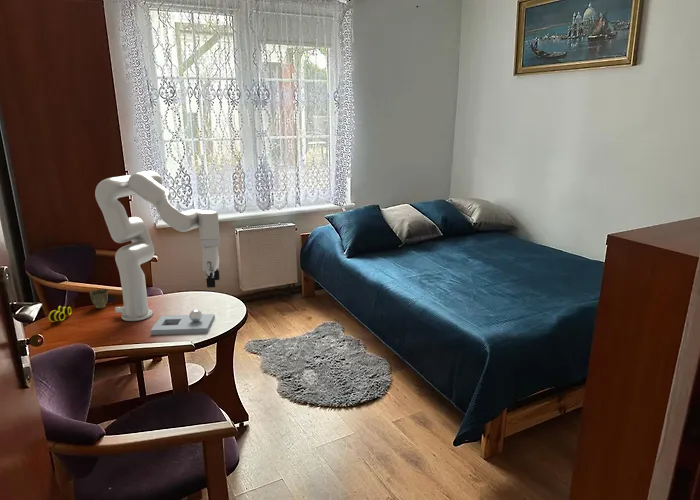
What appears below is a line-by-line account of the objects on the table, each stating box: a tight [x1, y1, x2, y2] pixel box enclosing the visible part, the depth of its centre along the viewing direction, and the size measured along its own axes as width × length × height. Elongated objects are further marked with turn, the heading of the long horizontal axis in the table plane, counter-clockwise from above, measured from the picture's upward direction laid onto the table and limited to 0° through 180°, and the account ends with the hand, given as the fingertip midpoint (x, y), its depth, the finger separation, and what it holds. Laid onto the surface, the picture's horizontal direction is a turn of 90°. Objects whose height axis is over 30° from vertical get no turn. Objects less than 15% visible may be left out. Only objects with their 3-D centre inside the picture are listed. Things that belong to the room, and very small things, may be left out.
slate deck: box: [150, 313, 216, 336], centre depth 202 cm, size 22×15×2 cm
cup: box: [89, 288, 109, 310], centre depth 221 cm, size 8×7×8 cm
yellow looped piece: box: [48, 305, 73, 323], centre depth 210 cm, size 10×5×5 cm, turn 2°
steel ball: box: [188, 309, 203, 322], centre depth 201 cm, size 5×5×5 cm
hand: (213, 283), depth 199 cm, fingers open, 8 cm apart
